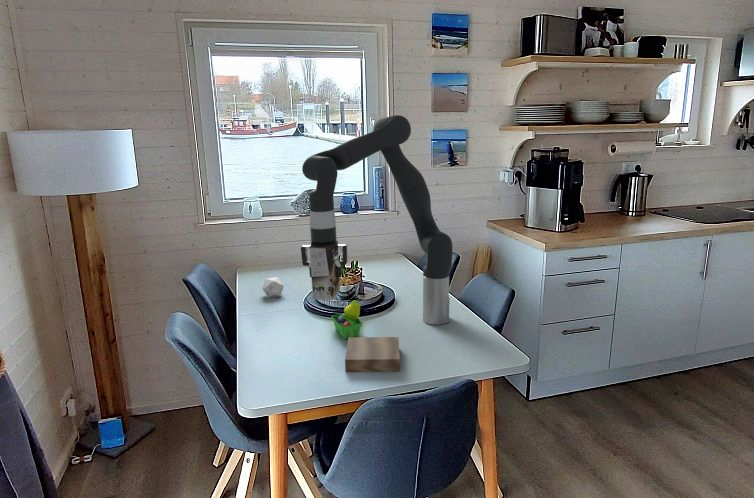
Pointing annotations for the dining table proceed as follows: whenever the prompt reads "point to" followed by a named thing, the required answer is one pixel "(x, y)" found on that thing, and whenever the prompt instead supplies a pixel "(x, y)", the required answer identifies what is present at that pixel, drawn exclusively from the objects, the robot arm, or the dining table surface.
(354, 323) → the fruit basket
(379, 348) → the wooden block
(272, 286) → the die
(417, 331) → the dining table surface
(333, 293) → the coffee box
